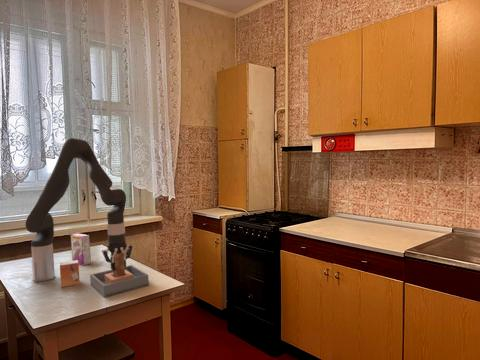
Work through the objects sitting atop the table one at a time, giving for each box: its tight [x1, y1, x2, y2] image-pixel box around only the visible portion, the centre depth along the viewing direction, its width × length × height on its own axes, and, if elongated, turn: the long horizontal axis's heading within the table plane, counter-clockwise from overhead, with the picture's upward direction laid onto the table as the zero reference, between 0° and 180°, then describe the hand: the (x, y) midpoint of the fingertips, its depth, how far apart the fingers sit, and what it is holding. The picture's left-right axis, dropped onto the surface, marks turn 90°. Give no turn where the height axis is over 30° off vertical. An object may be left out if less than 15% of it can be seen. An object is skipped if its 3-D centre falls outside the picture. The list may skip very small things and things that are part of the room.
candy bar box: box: [70, 233, 92, 266], centre depth 195 cm, size 11×5×16 cm, turn 58°
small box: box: [59, 260, 81, 288], centre depth 163 cm, size 8×6×10 cm
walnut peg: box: [113, 252, 125, 277], centre depth 159 cm, size 4×4×12 cm
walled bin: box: [89, 264, 150, 298], centre depth 159 cm, size 20×20×5 cm
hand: (118, 268), depth 159 cm, fingers closed on walnut peg, 4 cm apart
